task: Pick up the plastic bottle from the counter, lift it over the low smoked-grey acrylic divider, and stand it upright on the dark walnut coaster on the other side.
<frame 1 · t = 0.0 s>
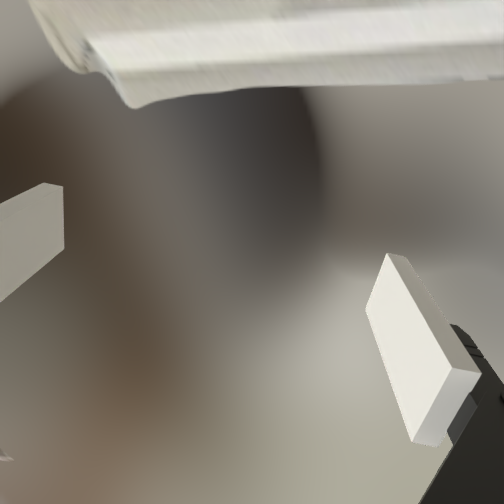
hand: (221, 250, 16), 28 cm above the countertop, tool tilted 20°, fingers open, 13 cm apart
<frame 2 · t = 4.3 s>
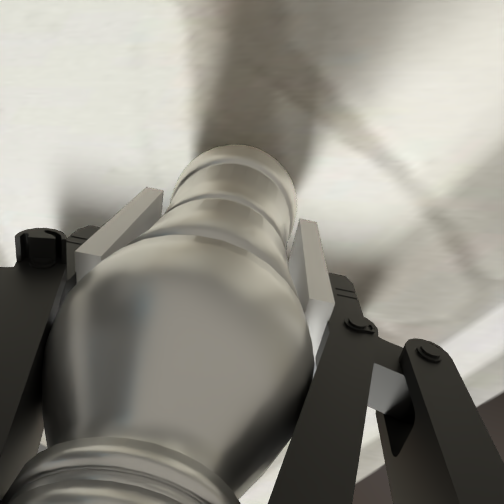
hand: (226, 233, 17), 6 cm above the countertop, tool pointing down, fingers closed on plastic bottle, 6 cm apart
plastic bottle: (239, 193, 23), on the countertop, touching gripper
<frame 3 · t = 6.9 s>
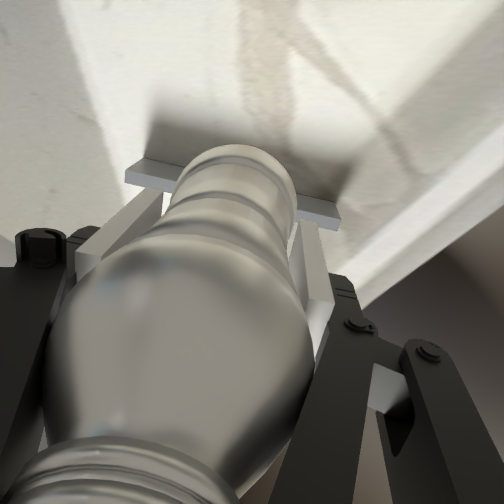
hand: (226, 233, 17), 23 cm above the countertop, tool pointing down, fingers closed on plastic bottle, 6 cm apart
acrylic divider: (238, 185, 40), on the countertop
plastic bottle: (239, 192, 23), point 17 cm above the countertop, touching gripper
when the fingers open (8 cm above the countertop, at t = 9.9 s): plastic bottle drops 1 cm, resting on walnut coaster.
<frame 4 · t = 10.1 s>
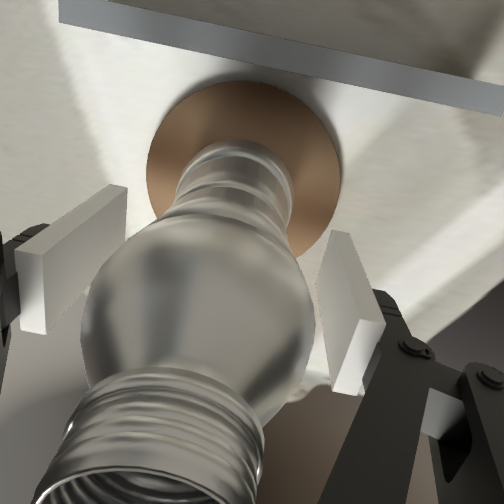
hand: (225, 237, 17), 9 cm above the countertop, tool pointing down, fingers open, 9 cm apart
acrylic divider: (284, 57, 22), on the countertop
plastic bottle: (239, 185, 24), resting on walnut coaster
walnut coaster: (242, 184, 25), on the countertop
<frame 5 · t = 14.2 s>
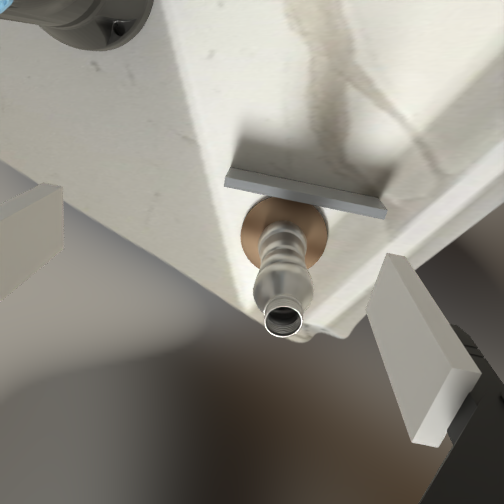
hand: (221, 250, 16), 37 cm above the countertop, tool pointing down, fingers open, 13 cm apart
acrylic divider: (303, 187, 52), on the countertop
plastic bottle: (282, 237, 55), resting on walnut coaster
walnut coaster: (283, 236, 55), on the countertop
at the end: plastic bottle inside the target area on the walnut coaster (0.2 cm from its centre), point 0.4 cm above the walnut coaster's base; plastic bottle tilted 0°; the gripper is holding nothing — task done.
